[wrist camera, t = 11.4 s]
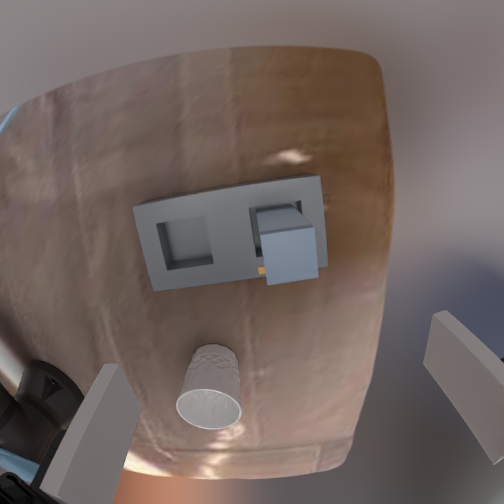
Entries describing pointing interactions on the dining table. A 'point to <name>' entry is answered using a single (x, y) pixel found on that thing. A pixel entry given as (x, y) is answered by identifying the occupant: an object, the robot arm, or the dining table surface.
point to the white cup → (211, 389)
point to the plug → (286, 244)
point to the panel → (220, 230)
